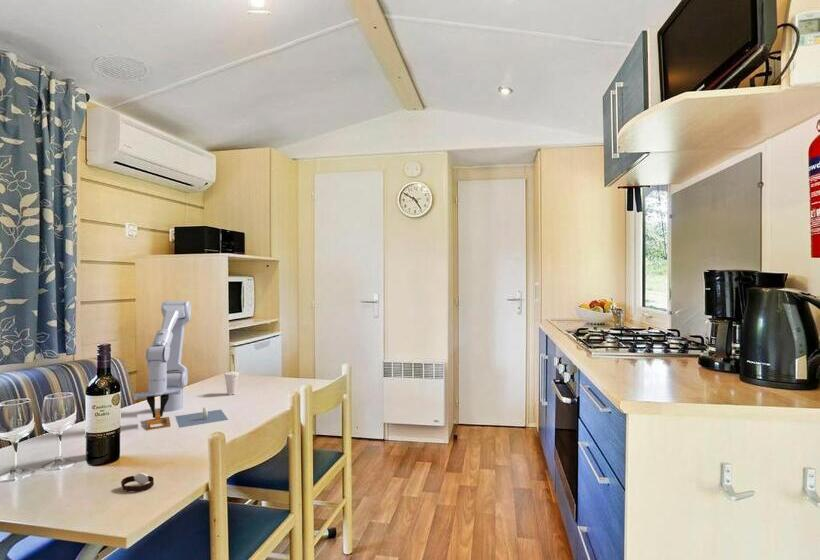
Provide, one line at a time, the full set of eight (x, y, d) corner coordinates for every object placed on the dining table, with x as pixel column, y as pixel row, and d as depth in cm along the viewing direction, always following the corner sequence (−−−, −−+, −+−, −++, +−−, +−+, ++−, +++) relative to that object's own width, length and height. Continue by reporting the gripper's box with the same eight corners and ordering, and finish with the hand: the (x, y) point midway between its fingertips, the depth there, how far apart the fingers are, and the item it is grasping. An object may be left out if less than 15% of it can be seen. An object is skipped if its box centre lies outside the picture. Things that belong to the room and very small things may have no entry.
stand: (175, 418, 164) (175, 405, 164) (221, 412, 173) (221, 399, 173) (179, 430, 151) (179, 416, 151) (228, 422, 160) (228, 408, 160)
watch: (158, 484, 112) (158, 470, 112) (146, 493, 107) (147, 478, 107) (128, 484, 112) (128, 469, 112) (115, 493, 107) (115, 478, 107)
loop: (170, 429, 153) (170, 423, 152) (147, 433, 149) (147, 426, 148) (167, 414, 162) (168, 408, 162) (145, 417, 159) (146, 411, 158)
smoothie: (233, 396, 196) (233, 365, 196) (221, 395, 197) (221, 364, 197) (242, 392, 202) (242, 362, 202) (229, 392, 204) (229, 362, 204)
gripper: (134, 383, 150) (134, 423, 150) (181, 378, 158) (181, 416, 158) (134, 379, 156) (133, 417, 156) (179, 375, 164) (179, 411, 164)
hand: (157, 416), depth 158 cm, fingers closed on loop, 2 cm apart
